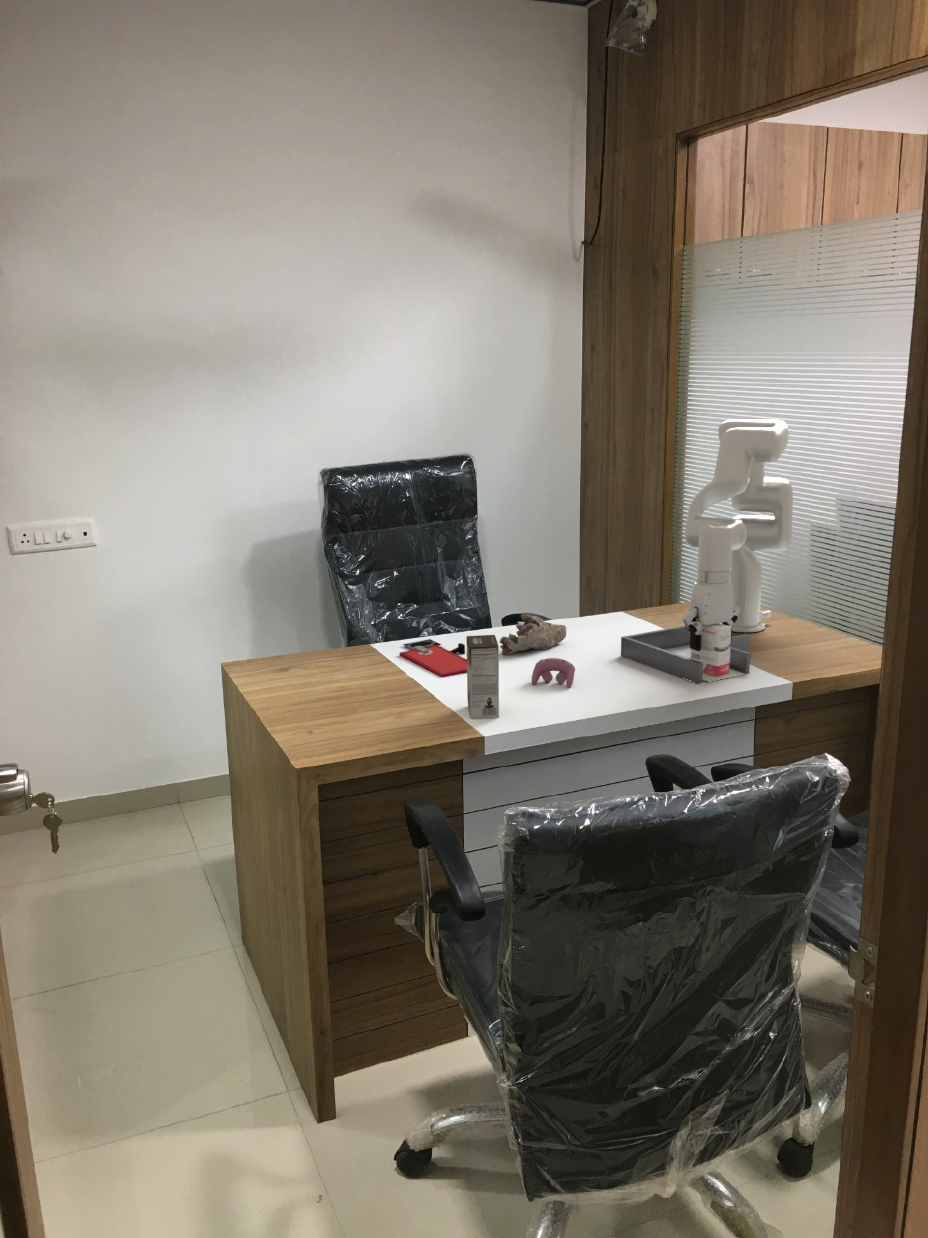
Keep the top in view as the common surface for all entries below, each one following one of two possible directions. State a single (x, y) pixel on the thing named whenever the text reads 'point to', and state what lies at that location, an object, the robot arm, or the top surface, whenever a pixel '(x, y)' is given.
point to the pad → (712, 678)
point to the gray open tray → (652, 654)
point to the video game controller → (554, 664)
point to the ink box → (714, 649)
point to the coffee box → (483, 676)
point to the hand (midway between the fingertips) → (710, 646)
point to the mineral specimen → (533, 635)
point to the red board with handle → (436, 658)
